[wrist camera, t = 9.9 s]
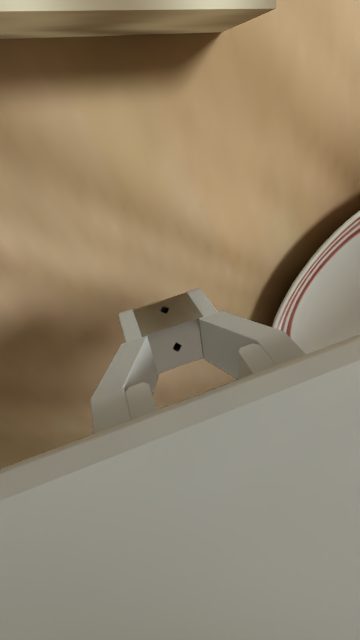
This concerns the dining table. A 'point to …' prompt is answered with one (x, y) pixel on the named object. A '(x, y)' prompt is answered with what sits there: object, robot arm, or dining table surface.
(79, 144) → the dining table surface
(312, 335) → the dinner plate
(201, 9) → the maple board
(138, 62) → the dining table surface
